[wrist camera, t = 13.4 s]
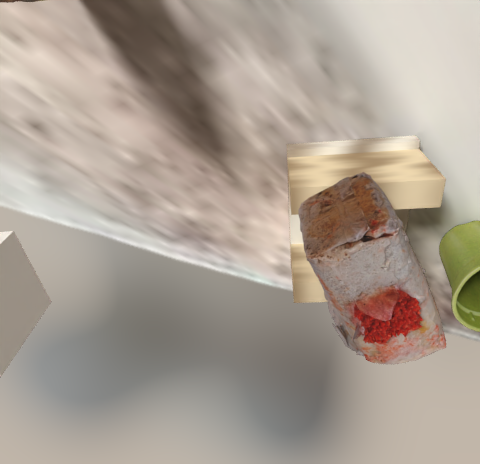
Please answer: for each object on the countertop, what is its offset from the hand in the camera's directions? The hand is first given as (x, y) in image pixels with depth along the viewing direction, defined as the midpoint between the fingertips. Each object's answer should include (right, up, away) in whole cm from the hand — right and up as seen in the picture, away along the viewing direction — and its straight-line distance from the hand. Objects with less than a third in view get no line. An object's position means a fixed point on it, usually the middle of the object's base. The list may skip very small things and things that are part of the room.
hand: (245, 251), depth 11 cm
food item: (+10, -1, +23) cm, 26 cm away
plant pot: (+25, -1, +32) cm, 40 cm away
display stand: (+11, +3, +30) cm, 32 cm away
